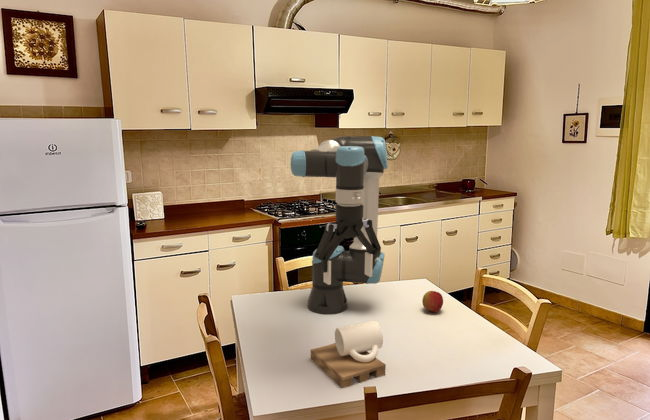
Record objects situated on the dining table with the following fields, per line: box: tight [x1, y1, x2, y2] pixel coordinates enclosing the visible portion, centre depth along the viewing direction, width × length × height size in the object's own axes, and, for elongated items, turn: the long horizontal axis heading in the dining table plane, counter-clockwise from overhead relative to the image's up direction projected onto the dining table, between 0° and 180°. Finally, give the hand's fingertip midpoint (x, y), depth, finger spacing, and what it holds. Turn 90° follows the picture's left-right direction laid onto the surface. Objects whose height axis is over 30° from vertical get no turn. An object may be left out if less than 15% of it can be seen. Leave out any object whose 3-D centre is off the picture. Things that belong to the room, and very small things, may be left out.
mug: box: [334, 320, 384, 362], centre depth 136 cm, size 8×12×12 cm
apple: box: [422, 290, 444, 313], centre depth 176 cm, size 8×8×8 cm
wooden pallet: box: [310, 343, 387, 389], centre depth 136 cm, size 18×14×3 cm
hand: (348, 279), depth 131 cm, fingers open, 13 cm apart
